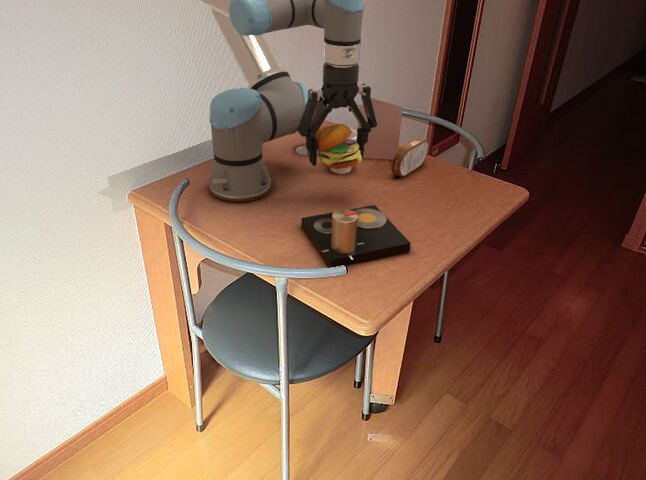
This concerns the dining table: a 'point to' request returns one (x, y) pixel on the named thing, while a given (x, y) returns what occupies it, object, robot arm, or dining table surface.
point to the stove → (358, 242)
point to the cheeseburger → (337, 147)
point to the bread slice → (410, 156)
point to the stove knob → (344, 231)
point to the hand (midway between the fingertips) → (336, 159)
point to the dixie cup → (346, 170)
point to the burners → (365, 221)
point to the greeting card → (383, 130)
